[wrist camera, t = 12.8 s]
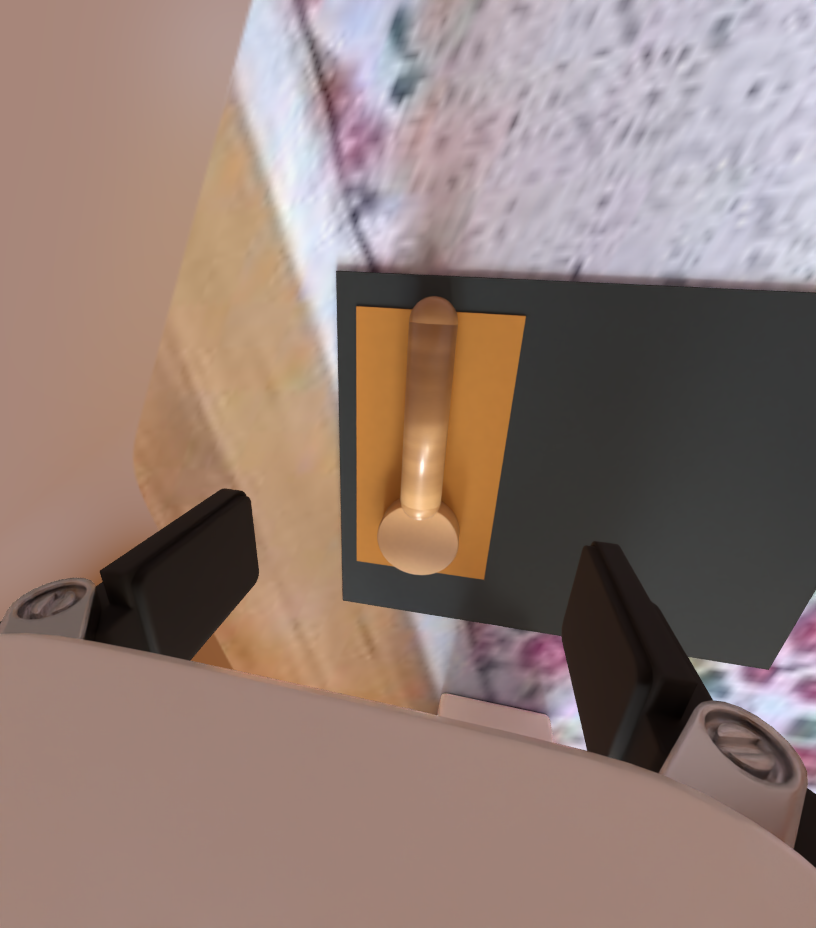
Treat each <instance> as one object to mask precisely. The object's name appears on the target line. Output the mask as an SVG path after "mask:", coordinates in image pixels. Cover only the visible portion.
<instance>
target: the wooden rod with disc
mask: <svg viewBox="0 0 816 928" xmlns="http://www.w3.org/2000/svg"><path fill="white" fill-rule="evenodd" d="M457 330H458V316H457V313H456V310H455V308H454V307H453V305H452V304H451V303H450V302H449V301H448V300H446V299H444V298H442V297H438V296H430V297H426V298H424V299H422V300H420V301H419V302H418V303H417V304H416V305H415V306H414V308H413V309H412V311H411V314H410V318H409V331H408V351H407V372H406V392H405V413H404V434H403V454H402V475H401V495H400V498H399V499H397V500H396V501H394V502H393V503H392V504H391V505H390V506H389V507H388V508H387V510H386V512H385V514H384V516H383V518H382V521H381V523H380V525H379V528H378V533H377V540H378V545H379V548H380V550H381V552H382V554H383V556H384V557H385V558H386V559H387V561H388V562H390V563H391V564H392V565H393V566H394V567H396V568H398V569H399V570H401V571H404V572H406V573H410V574H414V575H429V574H433V573H437V572H439V571H441V570H443V569H445V568H446V567H447V566H448V565H449V564H450V563H451V562H452V561H453V560H454V558H455V556H456V554H457V551H458V546H459V532H460V529H459V523H458V520H457V518H456V516H455V514H454V512H453V511H452V510H451V509H450V508H449V507H448V506H447V505H446V504H445V503H444V502H442V501H441V497H442V486H443V476H444V465H445V455H446V444H447V434H448V424H449V413H450V403H451V392H452V382H453V371H454V361H455V350H456V340H457Z"/></svg>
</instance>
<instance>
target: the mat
mask: <svg viewBox="0 0 816 928" xmlns="http://www.w3.org/2000/svg"><path fill="white" fill-rule="evenodd" d="M336 279H337V329H338V379H339V429H340V479H341V529H342V579H343V600H344V601H350V602H356V603H362V604H368V605H374V606H380V607H386V608H393V609H399V610H405V611H411V612H417V613H423V614H429V615H436V616H442V617H448V618H454V619H460V620H466V621H472V622H479V623H485V624H491V625H497V626H503V627H509V628H515V629H521V630H528V631H534V632H540V633H546V634H552V635H558V636H562V635H561V630H562V624H563V620H564V616H565V612H566V609H567V605H568V601H569V597H570V594H571V590H572V586H573V583H574V579H575V575H576V571H577V568H578V564H579V560H580V556H581V553H582V549H583V547H584V546H585V545H587V546H591V544H592V542H593V541H598V542H606V543H613V544H618V545H619V546H620V547H621V549H622V551H623V552H624V554H625V556H626V558H627V559H628V561H629V563H630V565H631V567H632V568H633V570H634V572H635V574H636V575H637V577H638V579H639V581H640V582H641V584H642V586H643V588H644V589H645V591H646V593H647V595H648V597H649V598H650V600H651V602H653V603H655V604H656V605H657V606H658V607H659V609H660V610H661V612H662V613H663V615H664V617H665V619H666V620H667V622H668V624H669V625H670V627H671V629H672V631H673V632H674V634H675V636H676V638H677V639H678V641H679V643H680V644H681V646H682V648H683V650H684V651H685V653H686V655H687V656H688V657H693V658H699V659H706V660H712V661H718V662H724V663H730V664H736V665H742V666H749V667H755V668H761V669H767V670H769V668H770V667H771V665H772V663H773V662H774V660H775V658H776V656H777V655H778V653H779V651H780V650H781V648H782V646H783V645H784V643H785V641H786V639H787V638H788V636H789V634H790V633H791V631H792V629H793V627H794V626H795V624H796V622H797V621H798V619H799V617H800V616H801V614H802V612H803V610H804V609H805V607H806V605H807V604H808V602H809V600H810V599H811V597H812V595H813V593H814V592H815V590H816V293H810V292H788V291H766V290H744V289H723V288H701V287H679V286H657V285H635V284H613V283H591V282H569V281H548V280H526V279H504V278H482V277H460V276H438V275H416V274H394V273H373V272H351V271H336ZM430 296H438V297H442V298H444V299H446V300H448V301H449V302H450V303H451V304H452V305H453V307H454V308H455V310H456V313H457V316H458V330H457V340H456V350H455V361H454V371H453V382H452V392H451V403H450V413H449V424H448V434H447V444H446V455H445V465H444V476H443V486H442V497H441V501H442V502H444V503H445V504H446V505H447V506H448V507H449V508H450V509H451V510H452V511H453V512H454V514H455V516H456V518H457V520H458V523H459V529H460V532H459V546H458V551H457V554H456V556H455V558H454V560H453V561H452V562H451V563H450V564H449V565H448V566H447V567H446V568H445V569H443V570H441V571H439V572H437V573H433V574H429V575H414V574H410V573H406V572H404V571H401V570H399V569H398V568H396V567H394V566H393V565H392V564H391V563H390V562H388V561H387V559H386V558H385V557H384V556H383V554H382V552H381V550H380V548H379V545H378V540H377V533H378V528H379V525H380V523H381V521H382V518H383V516H384V514H385V512H386V510H387V508H388V507H389V506H390V505H391V504H392V503H393V502H394V501H396V500H397V499H399V498H400V495H401V475H402V454H403V434H404V413H405V392H406V372H407V351H408V331H409V318H410V314H411V311H412V309H413V308H414V306H415V305H416V304H417V303H418V302H419V301H420V300H422V299H424V298H426V297H430Z"/></svg>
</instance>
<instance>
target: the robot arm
mask: <svg viewBox="0 0 816 928" xmlns="http://www.w3.org/2000/svg"><path fill="white" fill-rule="evenodd" d="M100 574H101V577H102V580H103V582H102V583H100V584H99V585H97V586H96V587H95V584H94V583H93V582H92V581H91V580H88V579H85V578H68V579H62V580H58V581H54V582H51V583H47V584H45V585H42V586H40V587H38V588H35V589H33V590H31V591H30V592H28V593H26V594H24V595H23V596H21V597H20V598H19V599H17V600H16V601H15V602H14V603H13V604H12V605H11V606H10V607H9V609H8V610H7V612H6V614H5V616H4V617H3V619H2V621H1V622H0V928H816V794H815V793H813V792H812V791H811V790H809V789H808V788H807V785H808V779H807V770H806V768H805V766H804V764H803V762H802V760H801V758H800V756H799V755H798V754H797V752H796V751H795V750H794V748H793V747H792V746H791V745H790V743H789V742H788V741H787V740H786V739H785V738H784V737H783V736H782V735H781V734H779V733H778V732H777V731H776V730H775V729H774V728H773V727H772V726H770V725H769V724H767V723H766V722H765V721H763V720H762V719H760V718H759V717H758V716H756V715H754V714H752V713H750V712H748V711H746V710H745V709H743V708H741V707H738V706H735V705H732V704H729V703H727V702H721V701H713V699H712V698H711V696H710V694H709V693H708V691H707V689H706V687H705V686H704V684H703V682H702V680H701V679H700V677H699V675H698V674H697V672H696V670H695V668H694V667H693V665H692V663H691V662H690V660H689V658H688V656H687V655H686V653H685V651H684V650H683V648H682V646H681V644H680V643H679V641H678V639H677V638H676V636H675V634H674V632H673V631H672V629H671V627H670V625H669V624H668V622H667V620H666V619H665V617H664V615H663V613H662V612H661V610H660V609H659V607H658V606H657V605H656V604H655V603H653V602H651V600H650V598H649V597H648V595H647V593H646V591H645V589H644V588H643V586H642V584H641V582H640V581H639V579H638V577H637V575H636V574H635V572H634V570H633V568H632V567H631V565H630V563H629V561H628V559H627V558H626V556H625V554H624V552H623V551H622V549H621V547H620V546H619V545H618V544H613V543H606V542H598V541H593V542H592V544H591V546H587V545H585V546H584V547H583V549H582V553H581V556H580V560H579V564H578V568H577V571H576V575H575V579H574V583H573V586H572V590H571V594H570V597H569V601H568V605H567V609H566V612H565V616H564V620H563V624H562V630H561V635H562V642H563V647H564V651H565V655H566V660H567V664H568V668H569V673H570V677H571V682H572V686H573V690H574V695H575V699H576V703H577V708H578V712H579V716H580V721H581V725H582V730H583V734H584V738H585V743H586V747H587V751H585V750H581V749H577V748H573V747H569V746H565V745H561V744H557V743H553V742H549V741H545V740H541V739H537V738H532V737H528V736H524V735H520V734H516V733H512V732H508V731H504V730H500V729H495V728H491V727H486V726H482V725H478V724H473V723H469V722H464V721H460V720H456V719H451V718H447V717H442V716H438V715H434V714H429V713H425V712H420V711H416V710H412V709H407V708H403V707H398V706H394V705H390V704H385V703H381V702H376V701H372V700H367V699H363V698H358V697H354V696H349V695H345V694H340V693H336V692H331V691H327V690H322V689H318V688H313V687H309V686H304V685H299V684H295V683H290V682H286V681H281V680H277V679H272V678H268V677H263V676H258V675H254V674H249V673H245V672H240V671H235V670H230V669H226V668H221V667H217V666H212V665H207V664H203V663H198V662H193V661H190V660H191V659H192V658H193V657H194V655H195V654H196V653H197V652H198V651H199V650H200V648H201V647H202V646H203V645H204V644H205V642H206V641H207V640H208V639H209V638H210V637H211V635H212V634H213V633H214V632H215V631H216V630H217V628H218V627H219V626H220V625H221V624H222V623H223V621H224V620H225V619H226V618H227V617H228V615H229V614H230V613H231V612H232V611H233V610H234V608H235V607H236V606H237V605H238V604H239V602H240V601H241V600H242V599H243V598H244V597H245V595H246V594H247V593H248V592H249V591H250V589H251V588H252V587H253V586H254V585H255V583H256V581H257V579H258V576H259V567H258V559H257V550H256V542H255V533H254V524H253V516H252V507H251V500H250V498H249V497H247V496H246V494H245V493H244V492H243V491H239V490H232V489H221V490H219V491H218V492H216V493H215V494H213V495H212V496H210V497H209V498H207V499H206V500H204V501H203V502H201V503H200V504H198V505H197V506H195V507H194V508H192V509H191V510H190V511H188V512H187V513H185V514H184V515H182V516H181V517H179V518H178V519H176V520H175V521H173V522H172V523H170V524H169V525H167V526H166V527H164V528H163V529H161V530H160V531H158V532H157V533H155V534H154V535H152V536H151V537H149V538H148V539H147V540H145V541H143V542H142V543H140V544H139V545H137V546H136V547H135V548H133V549H132V550H130V551H129V552H127V553H126V554H124V555H123V556H121V557H120V558H118V559H117V560H115V561H114V562H112V563H111V564H109V565H108V566H106V567H105V568H103V569H102V570H100Z"/></svg>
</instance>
